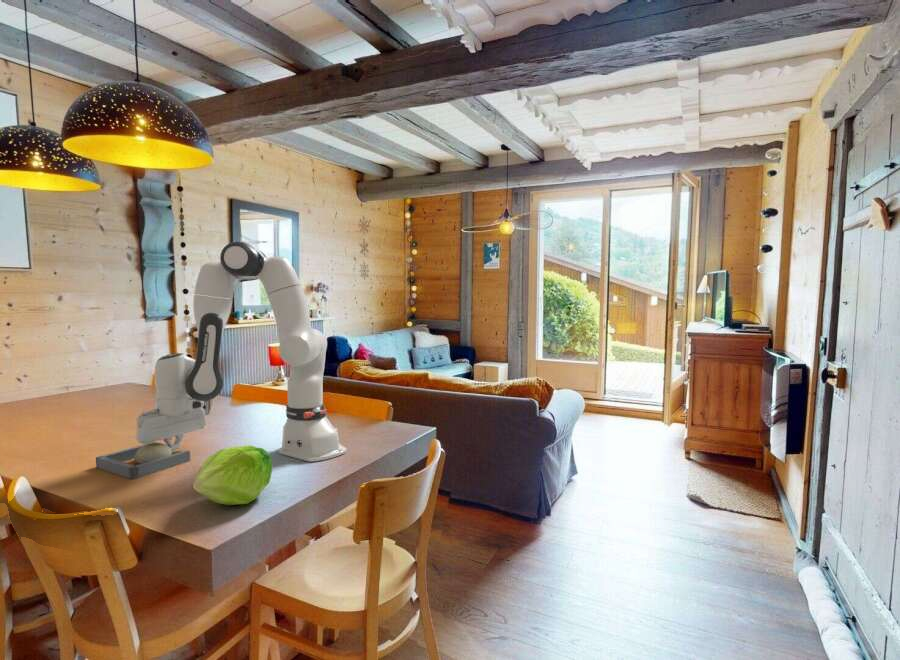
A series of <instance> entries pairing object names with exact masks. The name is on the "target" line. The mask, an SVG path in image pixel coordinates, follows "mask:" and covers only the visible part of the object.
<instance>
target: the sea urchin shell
mask: <svg viewBox="0 0 900 660" xmlns="http://www.w3.org/2000/svg"><path fill="white" fill-rule="evenodd" d="M143 445H144V444H143ZM172 453H173V450H171V448H170V447H169V446H167V444H166V443H161V442H157V443H149V444H146V445H144V446H142V447H141V448H139V450H138V451H137V452H136V454H135V458H134V460H135V462H136V463H137V464H143V463H146V462H149V461H153V460H156V459H159V458H163V457H166V456H169V455H172Z"/></svg>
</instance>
